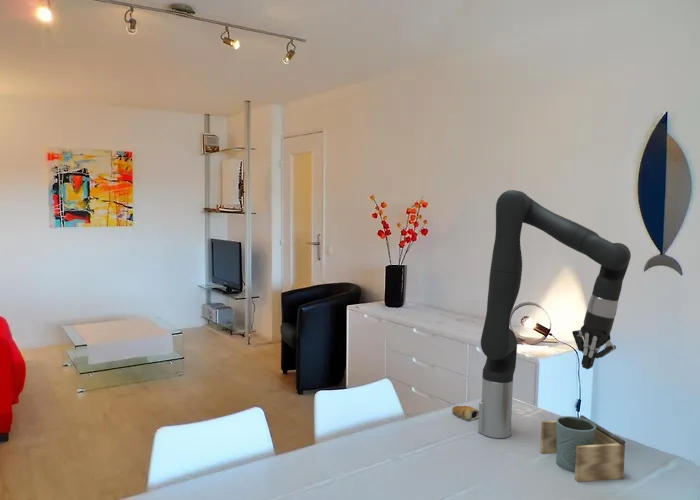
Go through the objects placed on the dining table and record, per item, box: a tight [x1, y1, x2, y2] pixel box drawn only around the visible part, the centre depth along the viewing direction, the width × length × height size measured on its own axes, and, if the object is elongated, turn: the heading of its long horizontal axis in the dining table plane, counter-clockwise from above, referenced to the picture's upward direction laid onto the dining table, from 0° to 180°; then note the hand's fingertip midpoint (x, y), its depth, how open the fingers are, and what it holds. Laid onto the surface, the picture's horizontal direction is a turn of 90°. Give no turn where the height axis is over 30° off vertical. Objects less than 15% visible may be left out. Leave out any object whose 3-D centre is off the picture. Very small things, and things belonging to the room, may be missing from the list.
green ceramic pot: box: [555, 415, 596, 473], centre depth 154 cm, size 10×10×12 cm
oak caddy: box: [539, 414, 626, 483], centre depth 155 cm, size 13×18×10 cm
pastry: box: [451, 405, 479, 422], centre depth 191 cm, size 9×7×4 cm
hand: (586, 367), depth 164 cm, fingers closed
